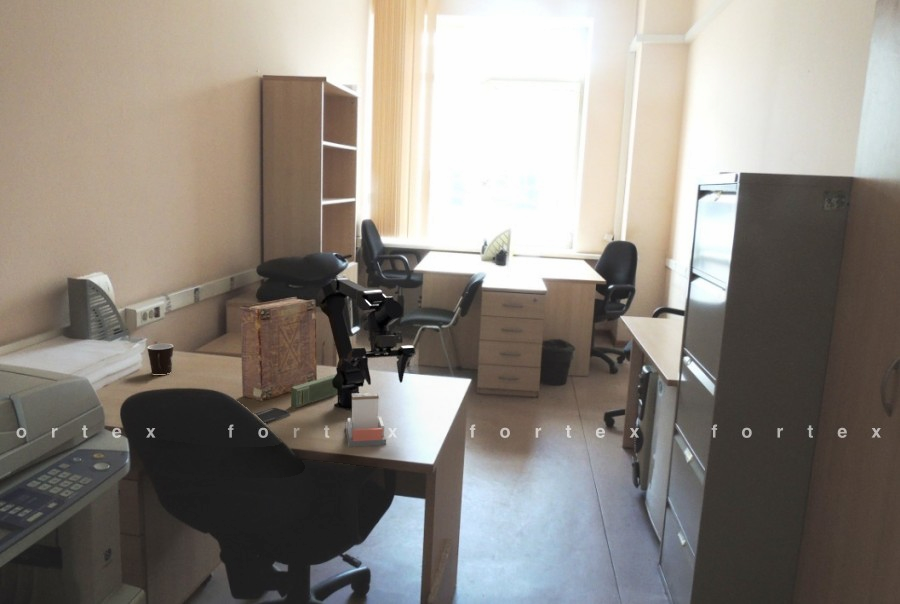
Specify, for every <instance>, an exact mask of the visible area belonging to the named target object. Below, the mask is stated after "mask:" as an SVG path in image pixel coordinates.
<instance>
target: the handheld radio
mask: <svg viewBox="0 0 900 604" xmlns="http://www.w3.org/2000/svg"><path fill="white" fill-rule="evenodd" d="M336 374H337V373H335V374H331V375H328V376H325V377H322V378H317V380H314V381H311V382H308V383H304V384H301V385H298V386H294V387H291V392H290V394H291V396H290V407H291V408H294V409H297V408H300V407H303V406H306V405H308V403H309V404H312V403H314V401H315V402H317V400H318V401H321V400H324V399H326V397H327V398H330V397H333V396H335V395H338V389H336V388H334V387H333V384H332V380H333V378H334V377H335V376H336ZM323 398H324V399H323ZM320 399H321V400H320ZM311 402H312V403H311ZM305 404H306V405H305Z"/></svg>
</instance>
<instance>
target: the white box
mask: <svg viewBox="0 0 900 604" xmlns="http://www.w3.org/2000/svg"><path fill="white" fill-rule="evenodd" d="M379 396H380V395H379V393H378V392H359V393H352V409H351V423H352V430H353V429H369V428H378V416H379V398H380V397H379Z"/></svg>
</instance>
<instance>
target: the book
mask: <svg viewBox="0 0 900 604" xmlns="http://www.w3.org/2000/svg"><path fill="white" fill-rule="evenodd" d="M316 300H317V299H310V300H306V299H299V298H298V297H297V296H293V297H287V298H281V299H275V300H271V301H265V302H259V303H254V304H249V305H243V306H240V307H239V309H240V310H239V311H240V312H239V313H240V315H239V317H240V346H241V347H240V349H241V350H240V351H241V353H240V354H241V380H242V383H241V385H242V396H243V397H245V396H246V398H250V399H253V400H257V401H261V402H265V401H268V400H270V399H273V398H276V396H277V397H279V396H283V395H285V393H286V394H288V393H291V387H294V386H298V385H301V384H304V383H308V382H311V381H314V380H317V379H318V378H317V375H318V373H317V368H318V367H317V366H318V364H317V363H318V362H317V301H316Z"/></svg>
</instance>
